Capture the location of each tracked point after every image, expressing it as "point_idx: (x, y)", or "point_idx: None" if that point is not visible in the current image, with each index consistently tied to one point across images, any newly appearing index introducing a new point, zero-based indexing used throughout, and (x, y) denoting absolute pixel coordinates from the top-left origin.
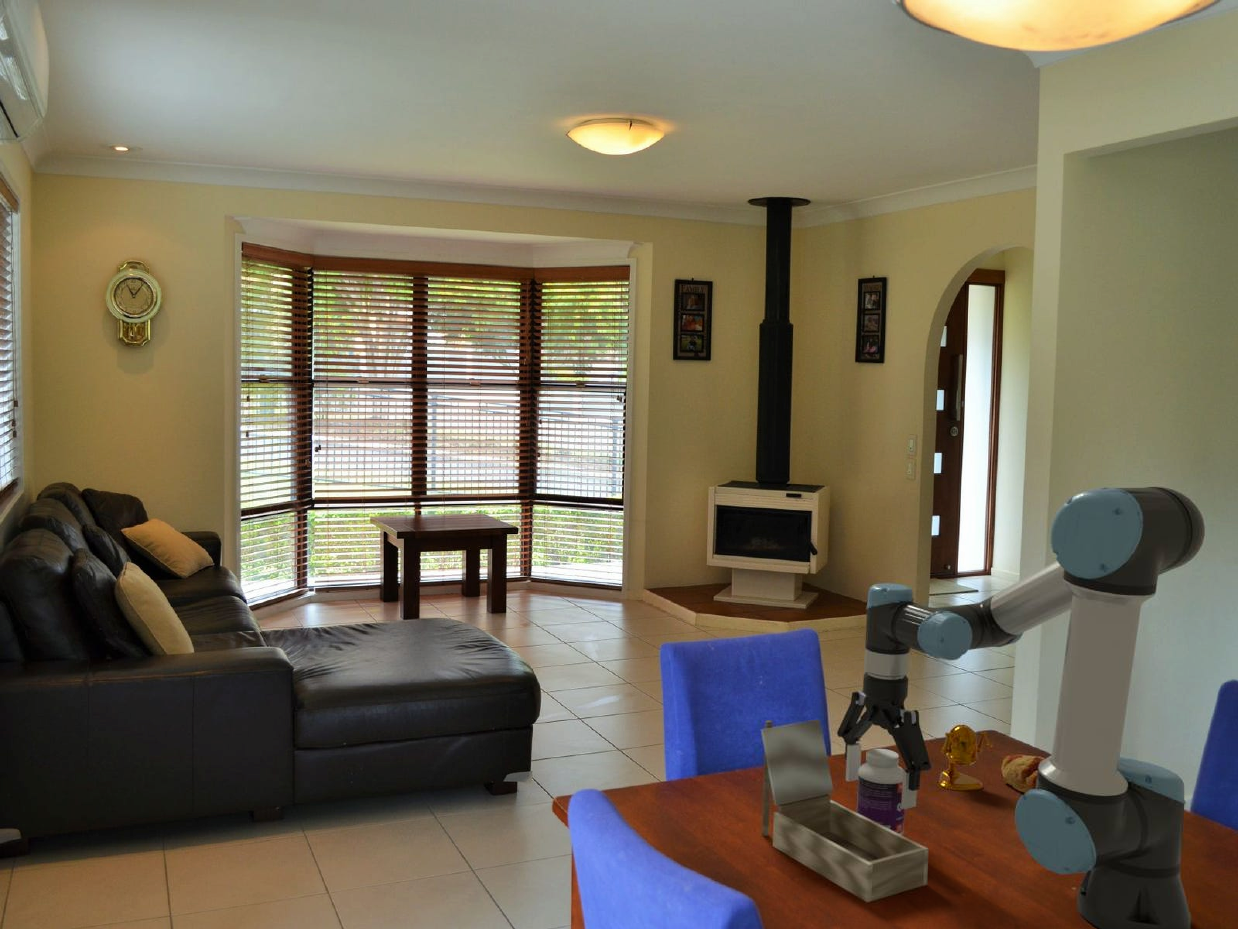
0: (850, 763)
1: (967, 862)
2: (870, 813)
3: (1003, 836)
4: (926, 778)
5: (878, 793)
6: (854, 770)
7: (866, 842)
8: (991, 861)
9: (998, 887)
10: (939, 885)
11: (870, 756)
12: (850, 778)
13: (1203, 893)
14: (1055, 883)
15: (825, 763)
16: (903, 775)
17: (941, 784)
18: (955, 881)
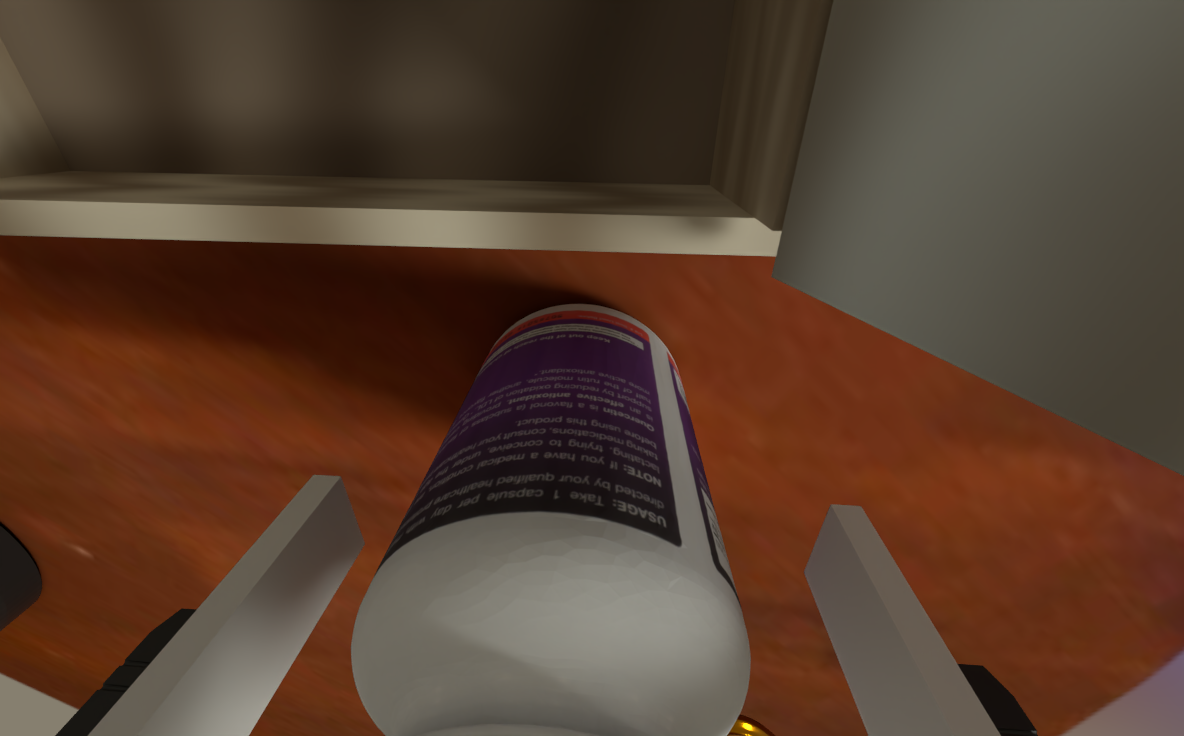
0: (898, 646)
1: (275, 461)
2: (522, 364)
3: None
4: (802, 724)
5: (445, 473)
6: (847, 605)
7: (406, 185)
8: (271, 515)
9: (73, 407)
10: (79, 240)
11: None
12: (835, 533)
13: (68, 685)
14: (110, 539)
15: (1145, 380)
16: (132, 729)
17: (741, 722)
18: (121, 322)
